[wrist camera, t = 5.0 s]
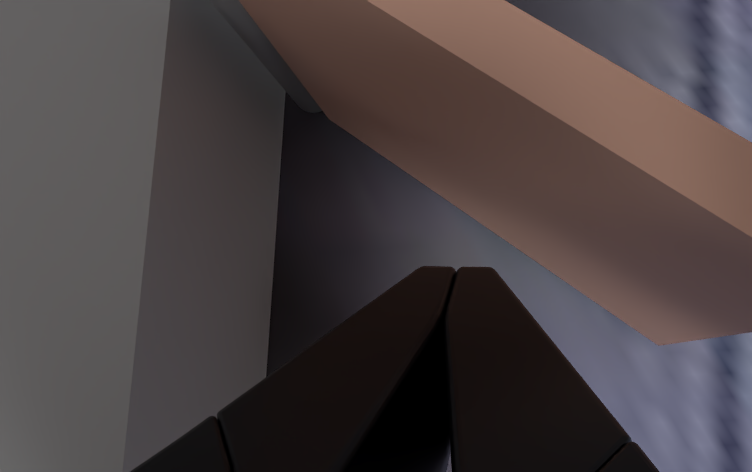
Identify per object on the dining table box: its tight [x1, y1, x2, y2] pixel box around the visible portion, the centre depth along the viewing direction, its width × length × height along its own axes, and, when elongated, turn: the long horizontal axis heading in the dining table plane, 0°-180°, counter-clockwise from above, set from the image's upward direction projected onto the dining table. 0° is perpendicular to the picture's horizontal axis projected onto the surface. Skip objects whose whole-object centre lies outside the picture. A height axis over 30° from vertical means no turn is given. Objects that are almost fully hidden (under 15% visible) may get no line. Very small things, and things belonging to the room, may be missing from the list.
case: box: [0, 0, 286, 472], centre depth 16 cm, size 12×7×6 cm, turn 178°
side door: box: [210, 0, 752, 346], centre depth 13 cm, size 11×1×10 cm, turn 53°
